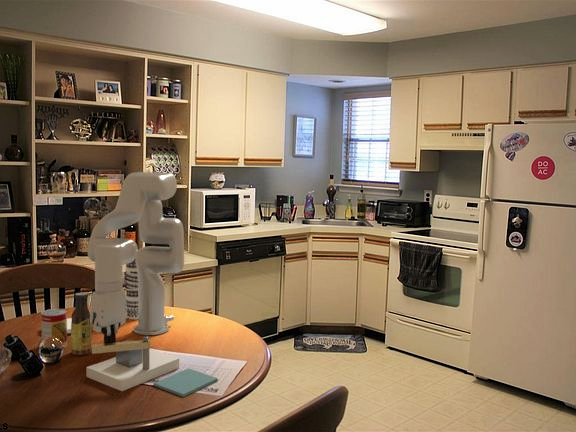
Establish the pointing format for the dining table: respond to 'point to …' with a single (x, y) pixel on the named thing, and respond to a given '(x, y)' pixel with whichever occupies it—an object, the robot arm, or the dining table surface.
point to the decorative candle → (131, 290)
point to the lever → (121, 346)
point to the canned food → (55, 324)
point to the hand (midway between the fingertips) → (110, 346)
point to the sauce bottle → (81, 326)
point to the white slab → (132, 370)
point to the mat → (185, 382)
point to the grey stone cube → (129, 357)
